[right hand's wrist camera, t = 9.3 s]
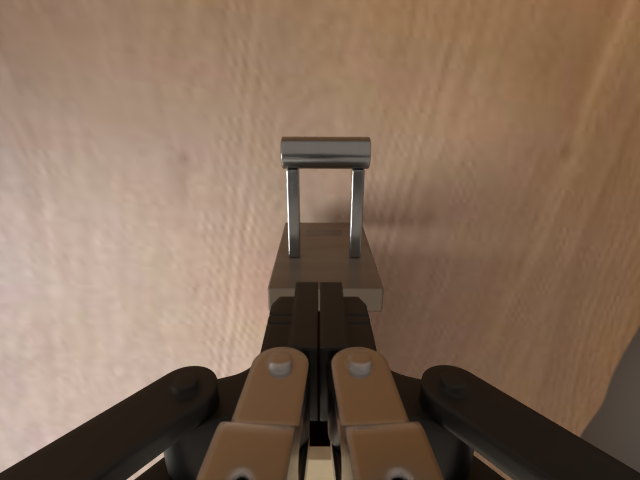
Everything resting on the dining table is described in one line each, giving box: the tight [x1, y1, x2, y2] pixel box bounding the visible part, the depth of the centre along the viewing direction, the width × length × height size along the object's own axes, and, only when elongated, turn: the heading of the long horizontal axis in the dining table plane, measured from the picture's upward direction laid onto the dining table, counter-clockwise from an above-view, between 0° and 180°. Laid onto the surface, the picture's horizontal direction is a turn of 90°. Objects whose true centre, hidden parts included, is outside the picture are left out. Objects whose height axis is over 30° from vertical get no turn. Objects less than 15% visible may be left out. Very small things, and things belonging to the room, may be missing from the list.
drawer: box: [268, 137, 383, 447], centre depth 23 cm, size 25×5×9 cm, turn 0°
